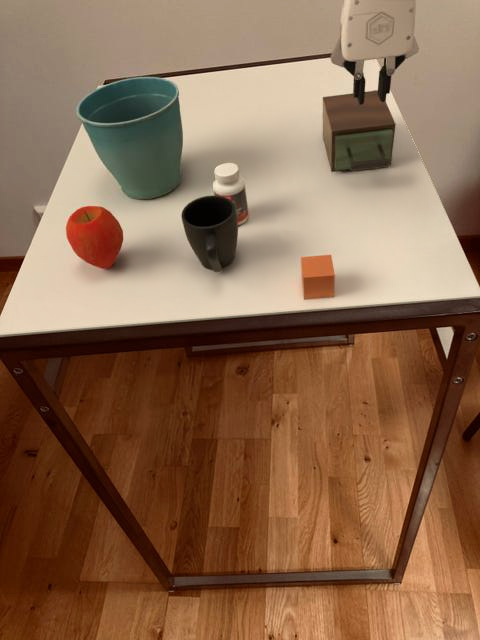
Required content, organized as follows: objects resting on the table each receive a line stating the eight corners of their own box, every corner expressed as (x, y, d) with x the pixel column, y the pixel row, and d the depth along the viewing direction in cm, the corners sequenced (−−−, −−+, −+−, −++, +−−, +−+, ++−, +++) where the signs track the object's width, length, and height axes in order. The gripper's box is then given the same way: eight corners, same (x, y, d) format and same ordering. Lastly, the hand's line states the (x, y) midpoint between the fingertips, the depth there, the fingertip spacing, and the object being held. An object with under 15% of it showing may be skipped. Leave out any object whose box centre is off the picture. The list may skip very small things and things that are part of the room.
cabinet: (391, 164, 95) (395, 123, 89) (331, 171, 96) (331, 131, 90) (377, 129, 104) (380, 89, 98) (322, 135, 105) (322, 96, 99)
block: (330, 276, 77) (331, 254, 74) (334, 297, 74) (334, 275, 71) (301, 278, 77) (300, 256, 74) (303, 299, 74) (303, 277, 71)
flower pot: (104, 170, 106) (74, 89, 94) (187, 150, 107) (169, 67, 95) (110, 219, 94) (77, 133, 81) (204, 196, 95) (186, 108, 83)
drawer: (397, 183, 89) (401, 150, 85) (340, 189, 90) (341, 157, 85) (376, 131, 102) (379, 100, 97) (327, 136, 103) (327, 106, 98)
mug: (191, 296, 78) (178, 248, 71) (193, 245, 86) (182, 198, 79) (245, 289, 77) (237, 241, 70) (241, 240, 85) (234, 191, 78)
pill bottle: (223, 230, 88) (214, 181, 80) (215, 213, 91) (206, 165, 84) (253, 222, 88) (246, 172, 81) (243, 205, 92) (237, 156, 85)
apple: (141, 252, 86) (123, 199, 78) (115, 286, 81) (93, 233, 73) (100, 244, 89) (78, 192, 81) (72, 276, 84) (46, 224, 76)
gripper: (322, -19, 66) (322, 116, 79) (451, -38, 65) (428, 104, 78) (316, -35, 71) (317, 95, 85) (435, -53, 70) (416, 83, 83)
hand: (370, 98), depth 81 cm, fingers closed
